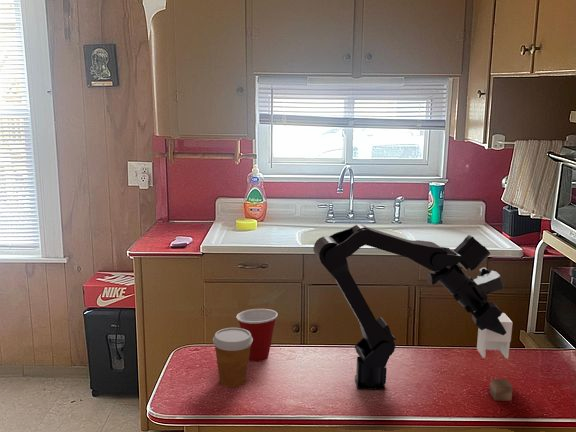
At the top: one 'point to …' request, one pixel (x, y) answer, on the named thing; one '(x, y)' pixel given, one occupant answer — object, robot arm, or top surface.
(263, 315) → the plastic cup
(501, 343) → the white notched block
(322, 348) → the top surface
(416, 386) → the top surface
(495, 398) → the walnut block
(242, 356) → the disposable coffee cup
